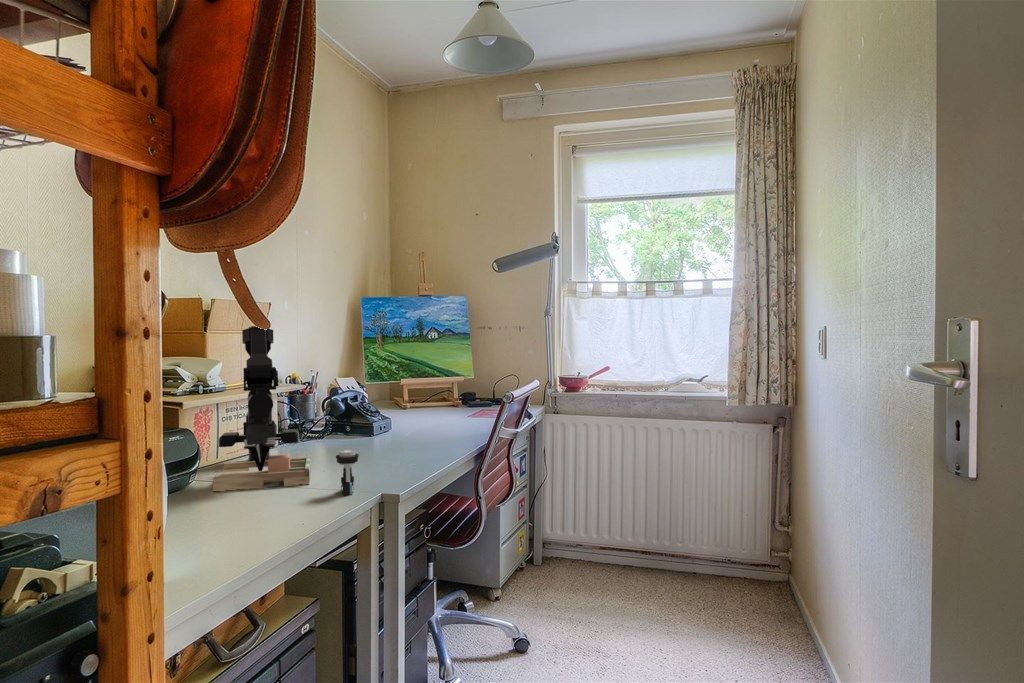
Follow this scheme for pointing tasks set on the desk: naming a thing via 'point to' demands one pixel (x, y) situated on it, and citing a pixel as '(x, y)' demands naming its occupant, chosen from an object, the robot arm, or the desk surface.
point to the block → (278, 463)
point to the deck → (261, 475)
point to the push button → (347, 469)
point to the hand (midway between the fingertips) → (260, 470)
